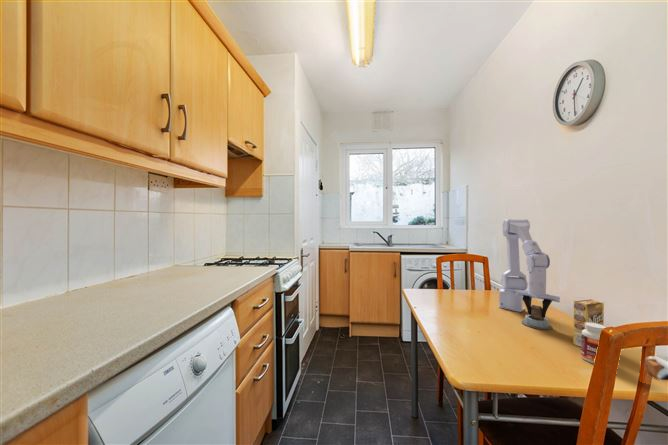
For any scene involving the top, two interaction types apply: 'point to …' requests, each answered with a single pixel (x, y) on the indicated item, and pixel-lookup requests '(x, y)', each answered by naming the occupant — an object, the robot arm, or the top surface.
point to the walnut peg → (536, 312)
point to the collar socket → (536, 323)
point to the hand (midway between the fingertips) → (536, 315)
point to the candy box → (586, 316)
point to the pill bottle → (590, 341)
